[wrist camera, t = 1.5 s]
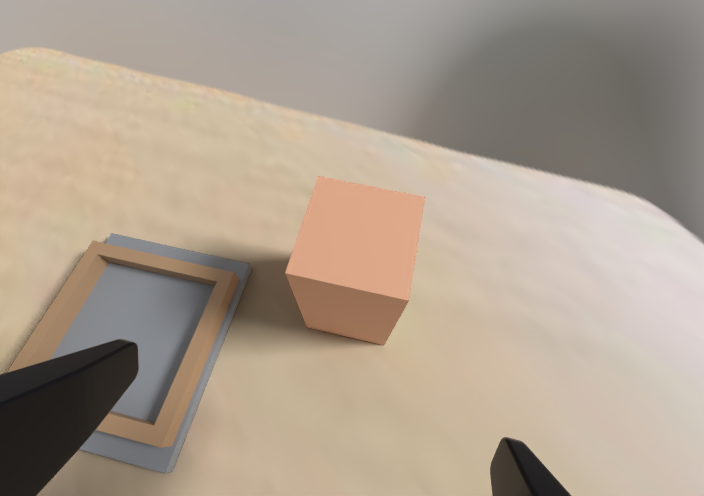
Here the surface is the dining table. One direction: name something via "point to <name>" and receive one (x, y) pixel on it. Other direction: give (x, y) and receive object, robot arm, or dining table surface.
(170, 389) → the base board
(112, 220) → the dining table surface
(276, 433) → the dining table surface
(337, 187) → the pillar block
